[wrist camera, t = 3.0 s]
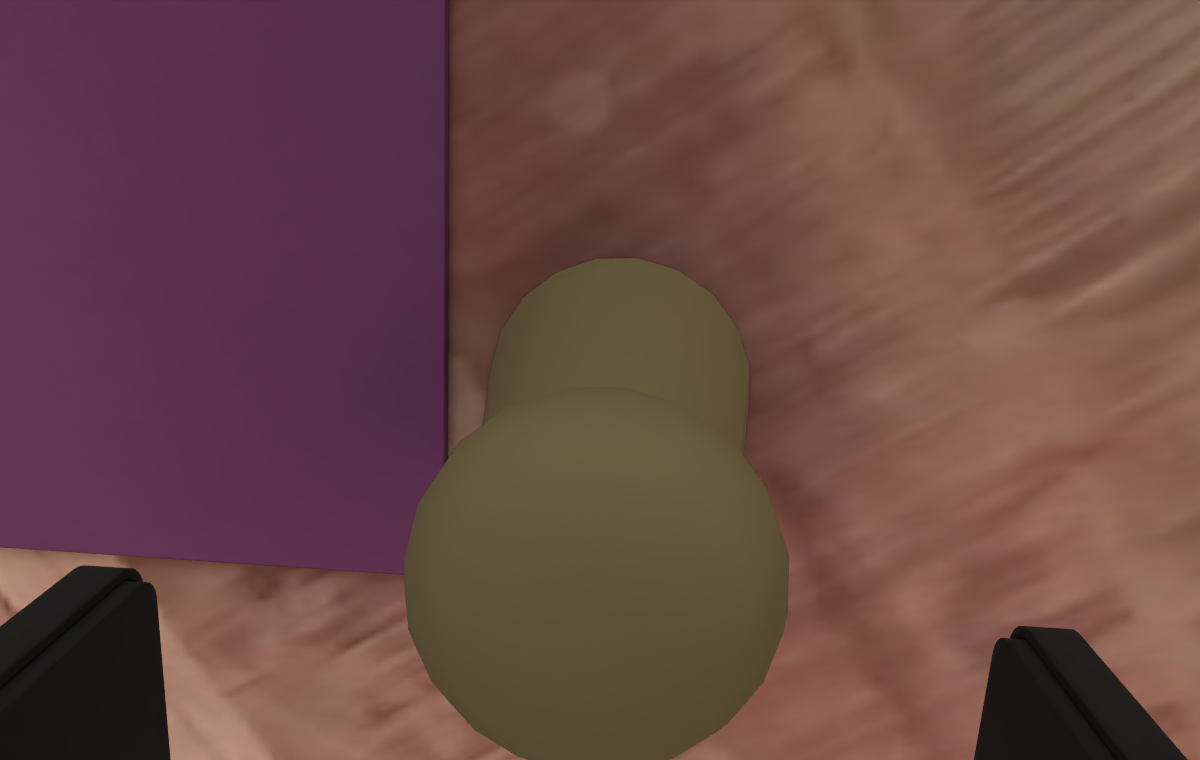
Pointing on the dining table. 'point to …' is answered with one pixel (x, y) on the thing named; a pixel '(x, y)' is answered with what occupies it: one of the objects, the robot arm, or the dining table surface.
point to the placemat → (223, 277)
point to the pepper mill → (602, 528)
